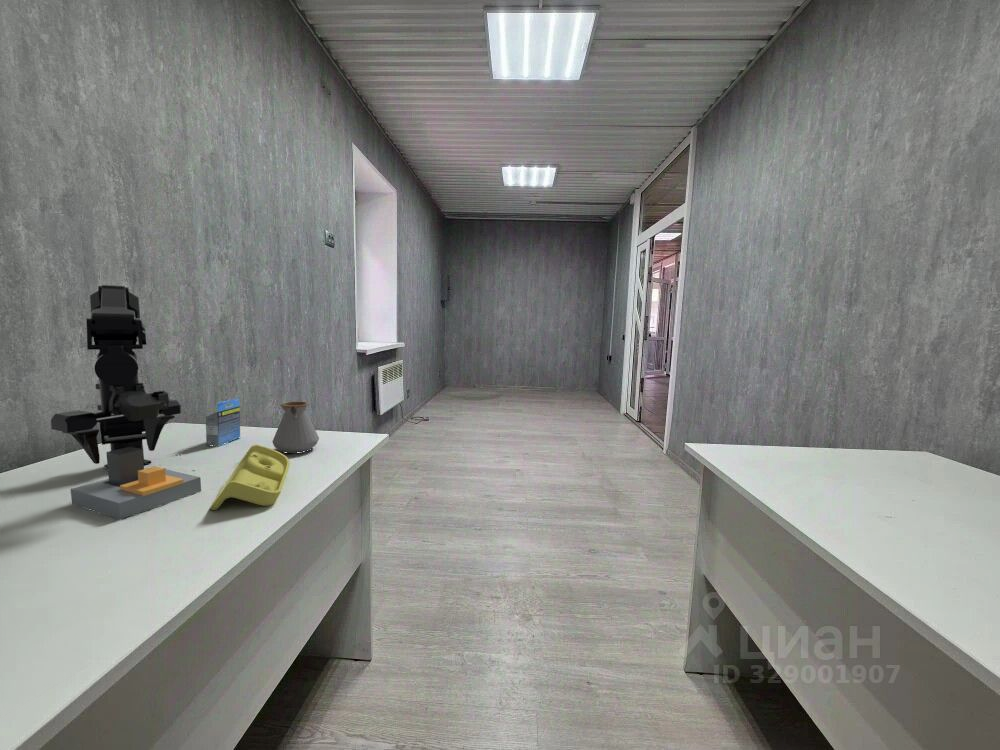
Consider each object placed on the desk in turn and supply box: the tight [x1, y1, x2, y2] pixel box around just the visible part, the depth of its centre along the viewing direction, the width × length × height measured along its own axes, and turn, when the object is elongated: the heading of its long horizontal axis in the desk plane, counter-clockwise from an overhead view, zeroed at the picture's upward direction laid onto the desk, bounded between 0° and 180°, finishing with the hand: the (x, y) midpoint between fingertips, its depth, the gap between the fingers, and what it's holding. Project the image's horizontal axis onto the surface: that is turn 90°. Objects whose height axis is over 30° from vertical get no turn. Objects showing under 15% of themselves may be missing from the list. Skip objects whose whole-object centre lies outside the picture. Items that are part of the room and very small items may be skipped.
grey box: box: [106, 447, 145, 487], centre depth 85 cm, size 4×4×9 cm
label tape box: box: [205, 397, 241, 447], centre depth 122 cm, size 9×4×12 cm, turn 174°
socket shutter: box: [120, 465, 184, 496], centre depth 82 cm, size 7×7×3 cm
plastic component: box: [209, 444, 291, 511], centre depth 89 cm, size 20×7×10 cm
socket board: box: [70, 465, 202, 520], centre depth 84 cm, size 15×14×3 cm
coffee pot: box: [272, 401, 320, 453], centre depth 112 cm, size 21×12×15 cm, turn 24°
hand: (125, 456), depth 85 cm, fingers open, 9 cm apart
